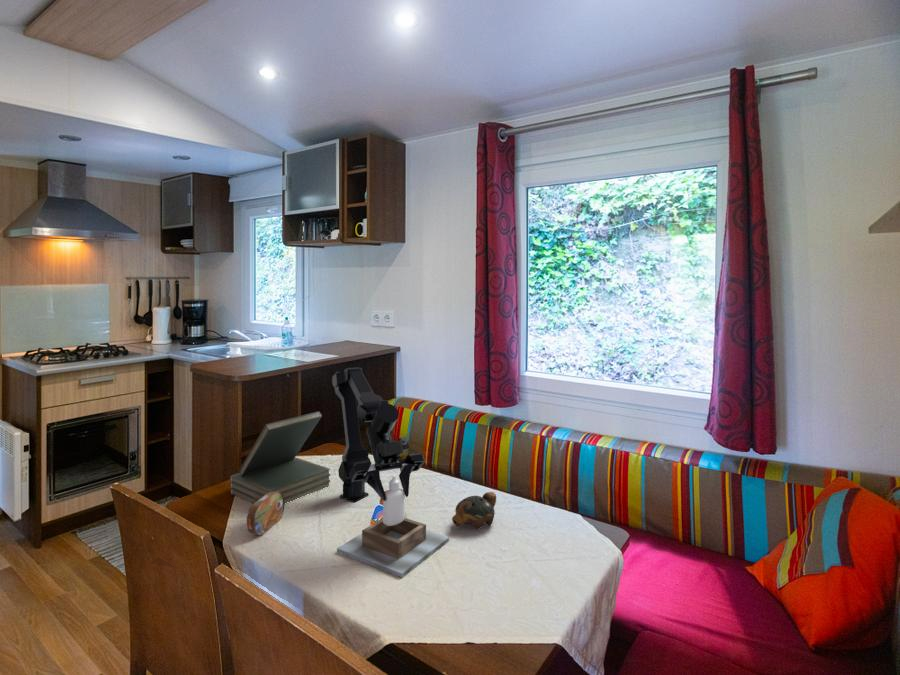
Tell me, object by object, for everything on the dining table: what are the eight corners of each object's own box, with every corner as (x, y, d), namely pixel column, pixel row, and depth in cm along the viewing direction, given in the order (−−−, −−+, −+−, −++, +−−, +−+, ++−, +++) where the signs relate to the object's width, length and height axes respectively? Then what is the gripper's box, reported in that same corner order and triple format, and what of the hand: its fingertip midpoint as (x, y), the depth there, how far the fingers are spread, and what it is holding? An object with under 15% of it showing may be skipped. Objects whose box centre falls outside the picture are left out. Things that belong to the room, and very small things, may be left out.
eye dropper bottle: (381, 519, 131) (381, 473, 130) (403, 516, 133) (403, 471, 131) (384, 527, 127) (384, 480, 126) (406, 524, 129) (407, 478, 127)
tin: (255, 541, 132) (255, 509, 131) (244, 540, 133) (243, 508, 132) (285, 515, 147) (285, 487, 146) (275, 514, 147) (275, 485, 146)
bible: (292, 473, 179) (291, 402, 176) (330, 487, 168) (329, 411, 165) (230, 494, 161) (228, 416, 158) (268, 512, 149) (266, 427, 146)
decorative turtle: (506, 521, 146) (507, 494, 144) (469, 542, 135) (469, 514, 134) (480, 508, 152) (481, 482, 151) (443, 527, 142) (443, 501, 141)
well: (388, 520, 144) (388, 503, 144) (449, 540, 134) (449, 522, 133) (337, 552, 127) (336, 532, 127) (402, 577, 117) (402, 556, 116)
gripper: (353, 431, 126) (367, 491, 118) (422, 422, 135) (440, 478, 127) (343, 452, 134) (357, 510, 126) (410, 443, 143) (426, 496, 135)
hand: (396, 498), depth 128 cm, fingers closed on eye dropper bottle, 6 cm apart
